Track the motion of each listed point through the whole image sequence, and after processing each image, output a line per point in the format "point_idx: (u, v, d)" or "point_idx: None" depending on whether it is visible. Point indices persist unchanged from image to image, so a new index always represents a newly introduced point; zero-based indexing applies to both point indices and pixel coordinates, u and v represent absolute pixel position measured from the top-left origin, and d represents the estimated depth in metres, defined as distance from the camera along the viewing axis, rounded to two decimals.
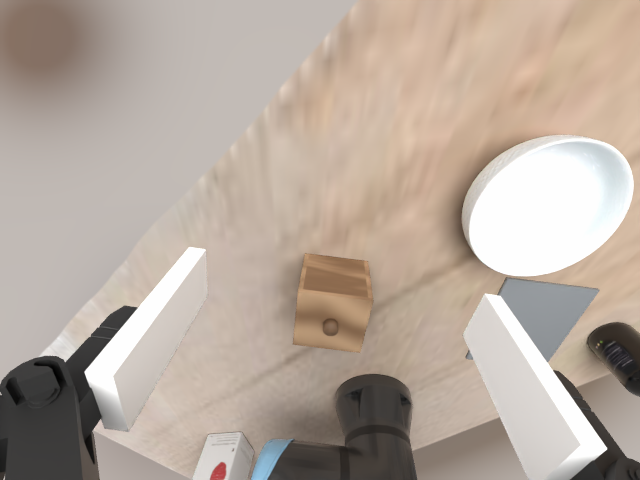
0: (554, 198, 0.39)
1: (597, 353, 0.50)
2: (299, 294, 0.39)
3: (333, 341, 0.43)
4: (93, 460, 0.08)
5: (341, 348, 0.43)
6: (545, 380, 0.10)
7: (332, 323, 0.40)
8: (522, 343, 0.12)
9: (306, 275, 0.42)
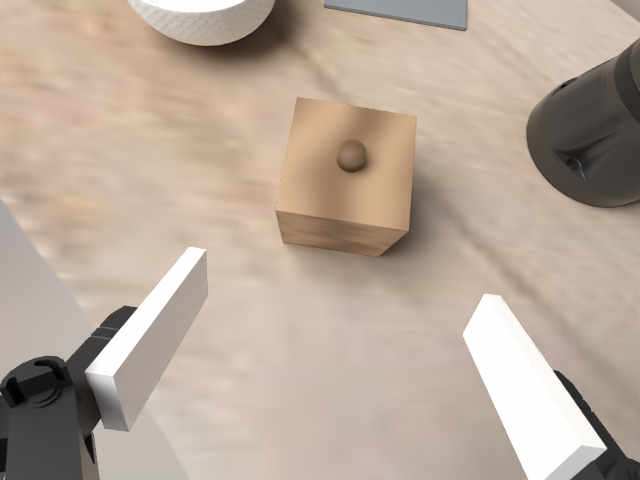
0: None
1: None
2: (281, 207, 0.22)
3: (393, 157, 0.23)
4: (93, 460, 0.08)
5: (409, 145, 0.24)
6: (545, 380, 0.10)
7: (338, 150, 0.22)
8: (522, 343, 0.12)
9: None
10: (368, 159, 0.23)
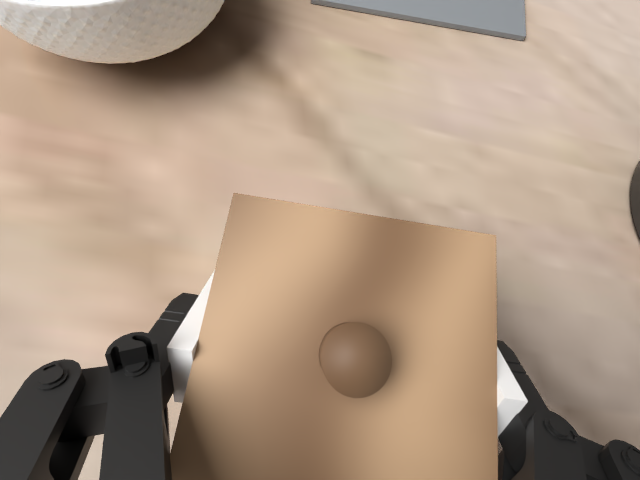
0: None
1: None
2: None
3: (450, 343, 0.10)
4: (167, 433, 0.09)
5: (485, 309, 0.10)
6: None
7: (321, 348, 0.09)
8: None
9: None
10: (392, 350, 0.10)
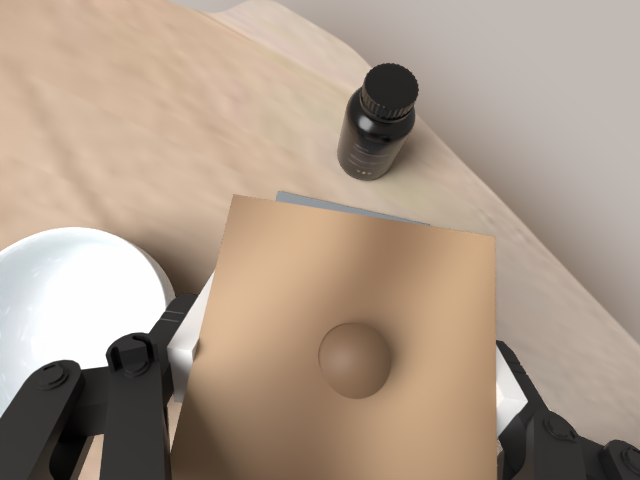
0: (113, 284, 0.31)
1: (378, 170, 0.34)
2: None
3: (449, 344, 0.10)
4: (167, 433, 0.09)
5: (484, 310, 0.10)
6: None
7: (321, 349, 0.09)
8: None
9: None
10: (392, 350, 0.10)
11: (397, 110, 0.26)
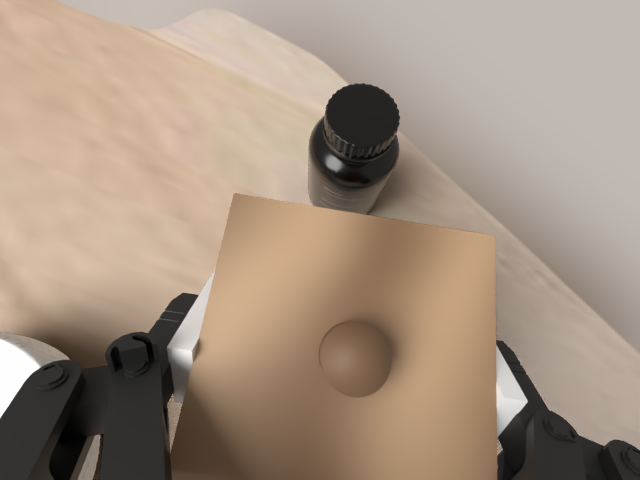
0: None
1: (359, 212, 0.28)
2: None
3: (449, 343, 0.10)
4: (167, 433, 0.09)
5: (485, 309, 0.10)
6: None
7: (321, 347, 0.09)
8: None
9: None
10: (392, 349, 0.10)
11: (372, 147, 0.19)
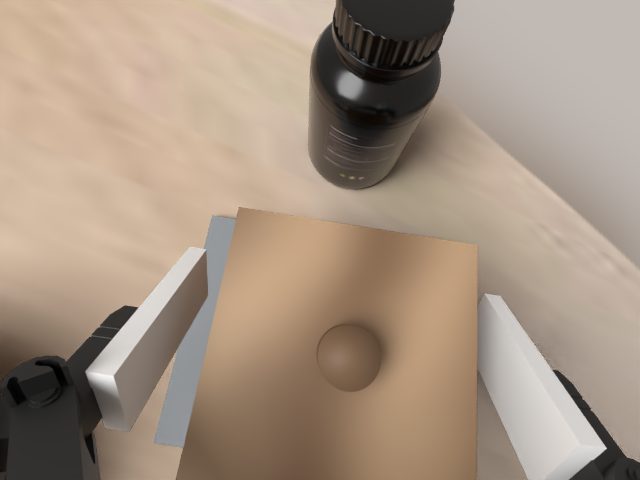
0: None
1: (376, 172, 0.21)
2: None
3: (434, 343, 0.11)
4: (94, 460, 0.08)
5: (467, 312, 0.12)
6: (545, 380, 0.10)
7: (319, 347, 0.10)
8: (522, 343, 0.12)
9: None
10: (383, 349, 0.11)
11: (412, 43, 0.12)
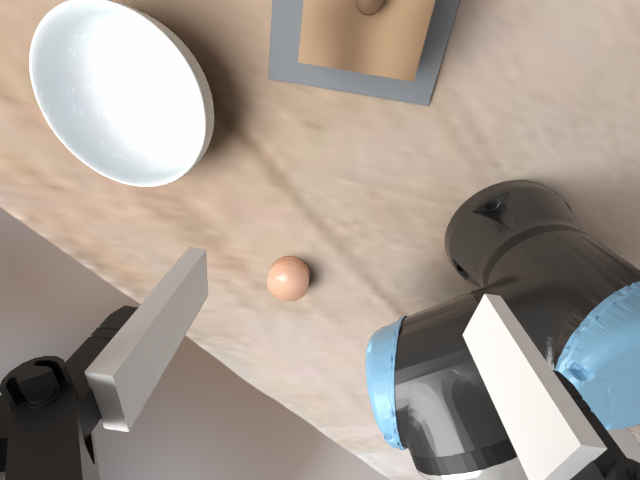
0: (142, 57, 0.33)
1: None
2: (303, 59, 0.25)
3: None
4: (93, 460, 0.08)
5: None
6: (545, 380, 0.10)
7: None
8: (522, 343, 0.12)
9: None
10: None
11: None
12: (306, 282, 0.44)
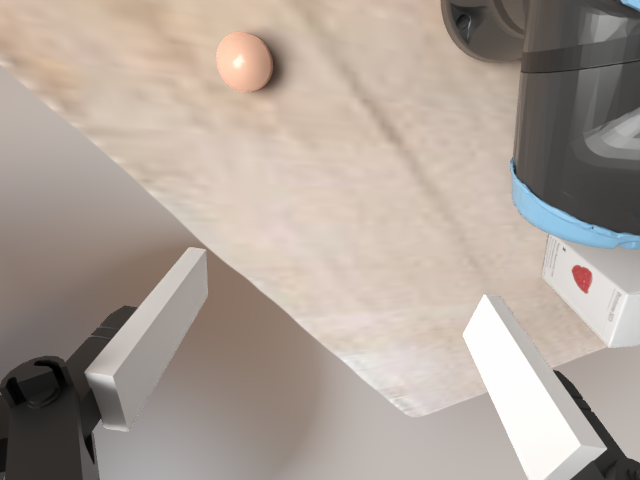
0: None
1: None
2: None
3: None
4: (93, 460, 0.08)
5: None
6: (545, 380, 0.10)
7: None
8: (522, 343, 0.12)
9: None
10: None
11: None
12: (265, 57, 0.35)
